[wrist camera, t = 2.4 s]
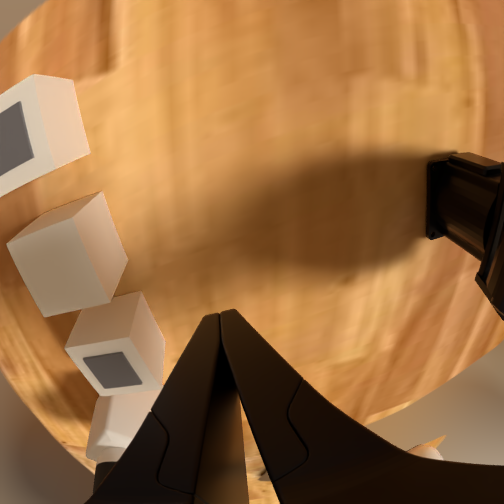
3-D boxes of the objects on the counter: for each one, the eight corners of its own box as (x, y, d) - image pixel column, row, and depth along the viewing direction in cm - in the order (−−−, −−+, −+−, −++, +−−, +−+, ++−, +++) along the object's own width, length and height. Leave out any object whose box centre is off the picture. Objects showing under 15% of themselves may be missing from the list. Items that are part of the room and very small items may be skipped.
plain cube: (128, 259, 19) (110, 302, 15) (70, 275, 19) (44, 317, 15) (102, 190, 17) (72, 217, 13) (43, 213, 17) (5, 244, 12)
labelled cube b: (91, 153, 16) (54, 170, 11) (29, 180, 16) (-15, 205, 11) (73, 80, 14) (31, 73, 9) (11, 113, 13) (-37, 121, 9)
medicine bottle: (96, 400, 25) (78, 502, 14) (117, 363, 23) (96, 488, 12) (157, 423, 28) (156, 523, 17) (188, 392, 26) (193, 510, 15)
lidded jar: (441, 432, 46) (459, 463, 38) (415, 457, 50) (430, 486, 42) (406, 445, 44) (424, 480, 35) (381, 469, 48) (395, 501, 40)
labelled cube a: (165, 340, 23) (161, 391, 18) (110, 351, 22) (98, 398, 18) (141, 290, 20) (128, 339, 16) (82, 304, 20) (61, 350, 16)
